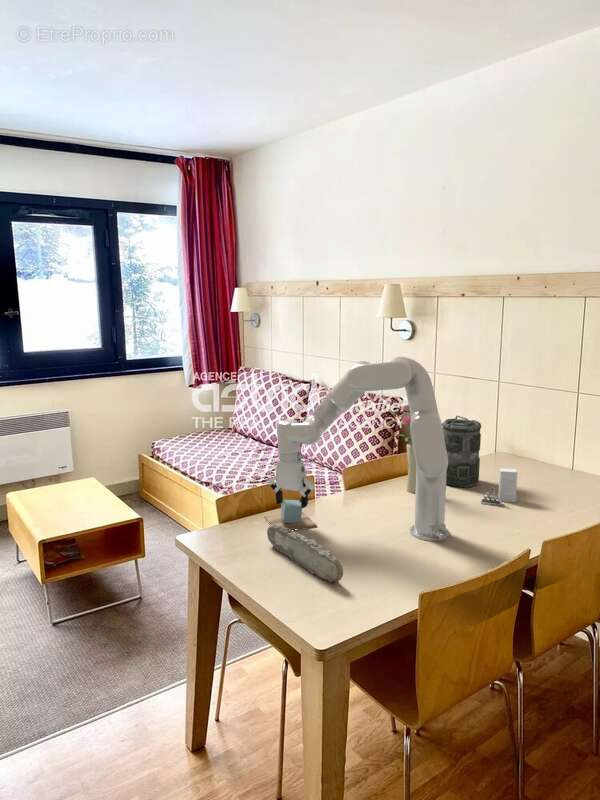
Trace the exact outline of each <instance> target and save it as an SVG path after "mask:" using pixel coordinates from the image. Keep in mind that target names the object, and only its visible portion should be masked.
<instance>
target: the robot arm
mask: <svg viewBox="0 0 600 800" xmlns="http://www.w3.org/2000/svg"><path fill="white" fill-rule="evenodd" d="M431 379H432V378H431V376H430V375H429V373H428V371H427V370H426V368H425V367H424V366H423V365H422V364H420V362H418V361H417V360H414V359H412V358H409V357H406V356H396V357H394V358H391V359H390V360H389V361H388V362H387V361H386V362H377V363H371V362H369V361H366V360H359V361H357V362H355V363H354V364H352V366H351V367H349V369H348V370H347V371H346V372H345V373H344V375H343V376H342V377H341V378H340V379H339V380H338V382H337V383H335V385H334V386H333V387H332V388H331V389H330V390H329V392H328V393H327V394H326V395H325V397H324V398H323V401H321V403H320V404H319V405H318V406H317V407H316V409H315V410H314V411H313V412H312V413H310V415H309V416H308V417H307V418H306V419H305V420H304V421H303V422H299V421H298V420H295V419H282V420H280V421H278V422H277V425H276V433H277V434H276V435H277V450H278V459H277V461H276V465H275V475H274V476H272V477H270V478H268V479H267V481H268V483H269V485H270V487H271V489H272V490H273V492H274V494H275V501H276V504H277V505H281V504H282V500H284V499H283V497H284V496H283V490H288V491H295V492H296V491H297V492H299V494H300V495H301V497H300V503H301V507H302V509H304V508H306V507H307V506H308V504H309V496H308V495H309V494H311V493H312V491H313V490H314V487H315V483H313V481H310V480H309V479H307V478H308V477H307V470H306V466H305V462H304V461H305V460H304V458H305V454H302V450H301V445H315V444H316V443H318V441H319V440H320V439H321V437H322V436H323V435H324V433H325V432H326V431H327V429H328V428H329V427H331V426H332V424H333V423H334V422H335V421H336V420H337V419H338V418H339V417H340V416H341V415H343V414H344V413H347V412H348V410H349V409H350V408H351V407H353V405H354V404H355V403H356V402H357V400H359V398H361V397H362V395H363V394H364V393H365V392H376V391H389V390H390V391H391V390H398V389H403V388H404V389H405V392H406V397H407V403H408V405H409V408H410V411H409V413H410V414H409V416H411V423H409V427H410V431H409V432H411V439H412V444H413V448H414V454H415V459H416V493H415V499H414V500H415V501H414V503H415V505H414V524H413V525H412V526H410V528H409V534H410V535H411V536H412V537H414V538H415V539H418V540H421V541H426V542H440V541H444V540H447V539H448V538H449V537H450V532H449V529H448V528H447V527H446V524H445V521H446V520H445V519H446V516H445V515H446V495H447V494H446V492H447V485H446V470H447V467H448V455H447V450H446V446H445V441H444V435H443V429H442V428H443V427H442V423H443V422H442V419H441V416H440V414H439V411H438V405H437V400H436V395H435V390H434V386H433V382H432V380H431ZM307 486H308V487H307Z"/></svg>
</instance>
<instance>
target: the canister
mask: <svg viewBox="0 0 600 800" xmlns="http://www.w3.org/2000/svg"><path fill="white" fill-rule="evenodd" d="M441 423H442V429H443V435H444V441H445V446H446V450H447V455H448V467H447V470H446V486H452V487H459V488H460V487H461V488H466V489H467V488H473V487H475V486H476V485H478V483H479V481H480V465H481V463H480V462H481V461H480V460H481V458H480V450H481V440H482V437H481V436H482V434H481V429H482V424H481V422H480V421H477V420H475V419H472V420H471V419H468V418H467V417H464V416H461V415H458V414H456V415H455V418H448V419H445V420H444V421H443V422H441Z"/></svg>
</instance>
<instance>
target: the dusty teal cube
mask: <svg viewBox="0 0 600 800" xmlns="http://www.w3.org/2000/svg"><path fill="white" fill-rule="evenodd" d="M280 506H281V507H280V513H279V514H280V517H281V519H282V521H283V523H301V513H302V512H303V508H302V507H301V500H299V499H283V500H282V502H281V503H280Z"/></svg>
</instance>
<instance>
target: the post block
mask: <svg viewBox="0 0 600 800" xmlns="http://www.w3.org/2000/svg"><path fill="white" fill-rule="evenodd" d="M280 514H281V513H279V514H273V515H272V514H271V515H265V516H264V517H263V518H265V519H266V520H267V521H268V522H269V523H270V524H271V525H281V526H283V527H285V528H287V529H290V530H295V529H301V530H304V529H303V528H307V529H311V527H313V528H317V526H318V525H317V524H316V523H315V522H314V521H313V520H312V519H311V518H310V517H309V516H308V515H306V514H305V513H304V512H303V511H302V513H301V523H283V521H282V519H281V517H280ZM265 519H264V520H265ZM266 520H265V521H266ZM267 521H266V522H267ZM268 522H267V523H268ZM269 523H268V524H269ZM270 524H269V525H270ZM271 525H270V526H271ZM295 531H296V530H295Z"/></svg>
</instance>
